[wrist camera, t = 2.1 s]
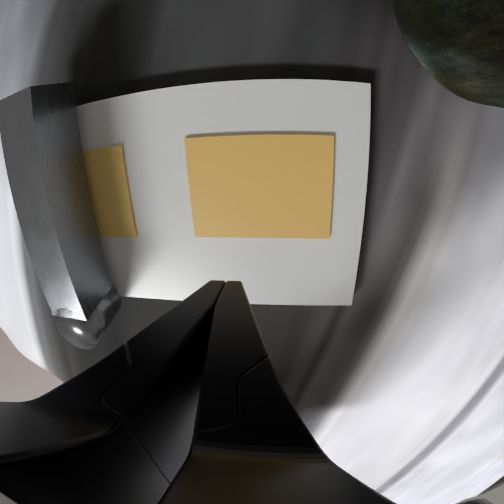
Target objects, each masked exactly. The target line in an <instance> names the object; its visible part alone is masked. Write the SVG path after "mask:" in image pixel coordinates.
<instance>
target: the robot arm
mask: <svg viewBox="0 0 504 504" xmlns="http://www.w3.org/2000/svg"><path fill="white" fill-rule="evenodd" d="M0 504H396V503H394V502H392V501H391V500H389V499H387V498H386V497H384V496H383V495H381V494H379V493H378V492H376V491H375V490H373V489H371V488H370V487H368V486H367V485H365V484H364V483H362V482H361V481H359V480H358V479H356V478H355V477H353V476H352V475H350V474H349V473H347V472H346V471H344V470H343V469H341V468H340V467H338V466H337V465H336V464H335V463H333V462H332V461H331V460H330V459H329V458H328V456H327V455H326V454H325V453H324V452H323V450H322V449H321V448H320V446H319V445H318V444H317V442H316V441H315V439H314V438H313V436H312V434H311V433H310V431H309V430H308V428H307V427H306V425H305V423H304V422H303V420H302V419H301V417H300V415H299V414H298V412H297V411H296V409H295V407H294V406H293V404H292V403H291V401H290V399H289V397H288V396H287V394H286V392H285V390H284V388H283V387H282V385H281V382H280V380H279V378H278V376H277V373H276V371H275V369H274V366H273V364H272V361H271V359H270V357H269V354H268V351H267V349H266V346H265V343H264V341H263V338H262V335H261V333H260V330H259V327H258V325H257V322H256V319H255V317H254V314H253V311H252V309H251V306H250V303H249V300H248V298H247V295H246V292H245V290H244V287H243V284H242V282H241V281H226V282H225V281H223V280H210V281H209V282H207V283H206V284H205V285H203V286H202V287H201V288H199V289H198V290H197V291H195V292H194V293H192V294H191V295H190V296H188V297H187V298H186V299H184V300H183V301H182V302H180V303H179V304H177V305H176V306H175V307H173V308H172V309H171V310H169V311H168V312H167V313H165V314H164V315H162V316H161V317H160V318H158V319H157V320H156V321H154V322H153V323H152V324H150V325H149V326H148V327H146V328H145V329H143V330H142V331H141V332H139V333H138V334H137V335H135V336H134V337H133V338H131V339H130V340H128V341H127V342H126V344H123V345H122V346H120V347H119V348H117V349H116V350H115V351H113V352H112V353H111V354H109V355H108V356H106V357H105V358H103V359H102V360H100V361H99V362H98V363H96V364H94V365H93V366H91V367H90V368H88V369H86V370H85V371H83V372H82V373H80V374H78V375H77V376H75V377H73V378H72V379H70V380H68V381H67V382H65V383H63V384H61V385H60V386H58V387H57V388H55V389H53V390H51V391H50V392H48V393H46V394H44V395H43V396H41V397H39V398H36V399H34V400H30V401H25V402H0ZM460 504H492V503H491V502H489V501H488V500H486V499H484V498H482V499H474V500H470V501H467V502H464V503H460Z"/></svg>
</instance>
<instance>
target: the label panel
mask: <svg viewBox="0 0 504 504" xmlns="http://www.w3.org/2000/svg"><path fill="white" fill-rule="evenodd" d="M77 112H78V121H79V129H80V137H81V144H82V151H83V157H84V163H85V169H86V175H87V181H88V186H89V191H90V196H91V201H92V206H93V210H94V215H95V219H96V224H97V228H98V232H99V236H100V240H101V244H102V248H103V252H104V255H105V259H106V263H107V266H108V270H109V273H110V277H111V280H112V283H113V286H114V287H115V288H116V290H117V292H118V293H119V296H126V297H138V298H152V299H166V300H181V301H183V300H184V299H186V298H187V297H188V296H190V295H191V294H192V293H194V292H195V291H197V290H198V289H199V288H201V287H202V286H203V285H205V284H206V283H207V282H209V281H210V280H223V281H225V282H226V281H241V282H242V284H243V287H244V290H245V292H246V295H247V298H248V300H249V303H250V304H272V305H352V300H353V294H354V288H355V281H356V275H357V268H358V261H359V254H360V246H361V238H362V230H363V221H364V211H365V201H366V190H367V177H368V162H369V143H370V112H371V83H361V82H349V81H335V80H313V79H259V80H237V81H222V82H211V83H200V84H191V85H183V86H175V87H168V88H161V89H155V90H149V91H143V92H138V93H132V94H127V95H122V96H117V97H113V98H108V99H104V100H99V101H95V102H91V103H87V104H83V105H80V106H77Z"/></svg>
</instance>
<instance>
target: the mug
mask: <svg viewBox="0 0 504 504" xmlns="http://www.w3.org/2000/svg"><path fill="white" fill-rule="evenodd" d="M393 4H394V11H395V14H396V18H397V22H398V24H399V27H400V29H401V32H402V34H403V36H404V38H405V40H406V42H407V44H408V45H409V47H410V49H411V50H412V52H413V53H414V55H415V56H416V58H417V59H418V61H419V62H420V63H421V64H422V65H423V67H424V68H425V69H426V70H427V71H428V72H429V73H430V74H431V75H432V76H433V77H434V78H435V79H436V80H437V81H438V82H439V83H440V84H442V85H443V86H444V87H445V88H447V89H448V90H450V91H451V92H453V93H454V94H456V95H457V96H460V97H462V98H464V99H466V100H468V101H472V102H476V103H480V104H486V105H491V106H497V107H502V108H504V0H393Z"/></svg>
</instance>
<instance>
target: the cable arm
mask: <svg viewBox="0 0 504 504" xmlns="http://www.w3.org/2000/svg"><path fill="white" fill-rule="evenodd" d="M0 133H1V140H2V147H3V153H4V158H5V164H6V169H7V174H8V179H9V184H10V188H11V192H12V196H13V201H14V205H15V208H16V212H17V216H18V219H19V223H20V226H21V230H22V233H23V236H24V240H25V243H26V246H27V249H28V252H29V255H30V258H31V261H32V263H33V266H34V269H35V272H36V274H37V277H38V280H39V282H40V285H41V287H42V290H43V292H44V295H45V297H46V299H47V302H48V304H49V306H50V309H51V311H52V313H53V319H54V323H55V326H56V328H57V329H58V331H59V332H60V334H61V335H62V336H63V337H64V338H65V339H66V340H67V341H68V342H70V343H71V344H73V345H74V346H76V347H79V348H81V349H93V348H94V347H95V346H96V344H97V343H98V341H99V340H100V338H101V337H102V335H103V334H104V332H105V330H106V329H107V327H108V326H109V324H110V323H111V321H112V320H113V318H114V317H115V315H116V314H117V312H118V311H119V309H120V307H121V299H120V296H119V293H118V292H117V290H116V288H115V287H114V286H113V283H112V280H111V277H110V273H109V270H108V266H107V263H106V259H105V255H104V252H103V248H102V244H101V240H100V236H99V232H98V228H97V224H96V219H95V215H94V210H93V206H92V201H91V196H90V191H89V186H88V181H87V175H86V169H85V163H84V157H83V151H82V144H81V137H80V129H79V121H78V112H77V101H76V89H75V82H71V83H58V84H48V85H39V86H31V87H28V88H26V89H24V90H21V91H19V92H17V93H15V94H13V95H10V96H8V97H6V98H4V99H2V100H0Z"/></svg>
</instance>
